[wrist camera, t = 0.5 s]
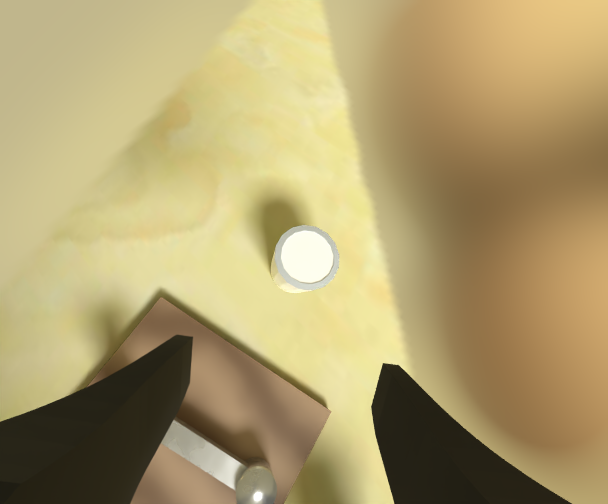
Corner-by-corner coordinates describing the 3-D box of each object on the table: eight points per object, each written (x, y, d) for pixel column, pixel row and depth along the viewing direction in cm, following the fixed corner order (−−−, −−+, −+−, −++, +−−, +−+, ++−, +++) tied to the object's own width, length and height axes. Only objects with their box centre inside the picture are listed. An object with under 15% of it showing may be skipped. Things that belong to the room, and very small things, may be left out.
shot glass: (253, 272, 37) (260, 259, 30) (289, 232, 39) (302, 211, 33) (297, 310, 37) (313, 304, 31) (330, 267, 40) (352, 254, 33)
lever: (258, 507, 30) (268, 556, 23) (94, 403, 29) (56, 423, 22) (278, 469, 31) (294, 505, 25) (122, 367, 30) (94, 376, 23)
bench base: (231, 593, 29) (231, 605, 28) (24, 467, 28) (14, 473, 26) (327, 409, 35) (331, 411, 34) (162, 298, 34) (160, 296, 33)
